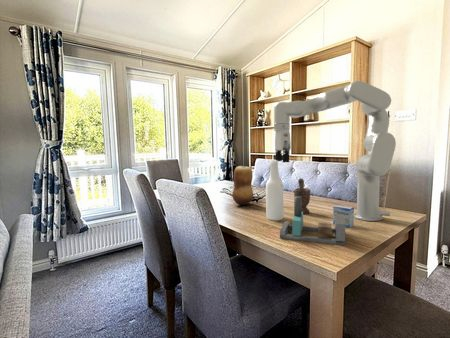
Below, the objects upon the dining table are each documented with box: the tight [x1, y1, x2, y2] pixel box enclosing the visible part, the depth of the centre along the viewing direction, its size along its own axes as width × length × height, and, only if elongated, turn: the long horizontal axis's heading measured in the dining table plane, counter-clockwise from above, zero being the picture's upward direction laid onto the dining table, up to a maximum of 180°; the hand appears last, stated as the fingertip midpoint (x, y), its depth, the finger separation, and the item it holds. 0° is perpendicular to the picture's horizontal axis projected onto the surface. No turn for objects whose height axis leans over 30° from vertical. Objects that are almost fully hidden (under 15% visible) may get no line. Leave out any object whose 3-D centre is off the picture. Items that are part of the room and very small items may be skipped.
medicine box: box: [332, 204, 355, 228], centre depth 115 cm, size 8×4×9 cm, turn 45°
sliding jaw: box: [291, 196, 304, 236], centre depth 105 cm, size 3×14×14 cm, turn 158°
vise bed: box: [279, 214, 346, 246], centre depth 103 cm, size 24×14×8 cm, turn 68°
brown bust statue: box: [293, 178, 311, 215], centre depth 135 cm, size 12×9×20 cm
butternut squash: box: [231, 165, 254, 206], centre depth 159 cm, size 14×13×25 cm
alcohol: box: [265, 160, 285, 221], centre depth 127 cm, size 9×9×30 cm
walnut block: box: [317, 222, 333, 239], centre depth 101 cm, size 5×5×5 cm
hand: (282, 161), depth 126 cm, fingers open, 9 cm apart
